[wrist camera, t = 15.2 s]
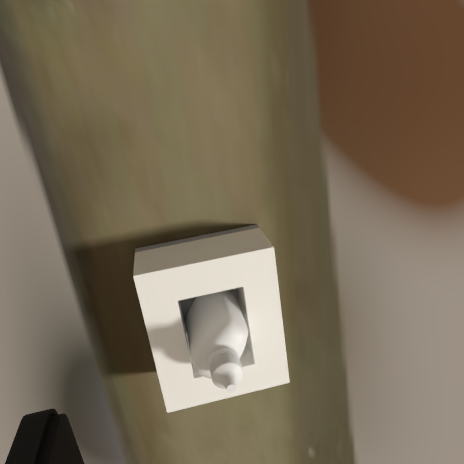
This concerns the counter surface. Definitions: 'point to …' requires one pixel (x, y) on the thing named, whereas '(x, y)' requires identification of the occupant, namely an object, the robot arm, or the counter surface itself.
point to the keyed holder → (202, 283)
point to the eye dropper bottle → (217, 338)
